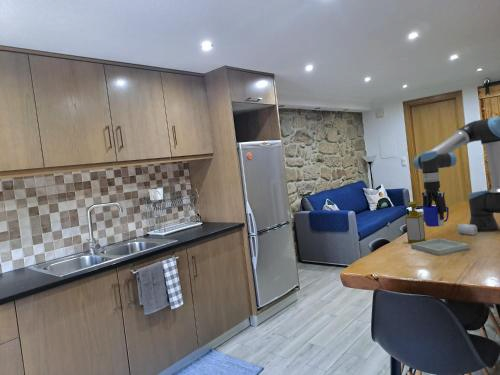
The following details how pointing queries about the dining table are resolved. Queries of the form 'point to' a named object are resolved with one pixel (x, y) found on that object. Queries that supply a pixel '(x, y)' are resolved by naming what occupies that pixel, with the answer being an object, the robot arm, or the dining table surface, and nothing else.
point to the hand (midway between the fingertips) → (436, 225)
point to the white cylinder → (467, 229)
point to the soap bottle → (415, 225)
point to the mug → (432, 215)
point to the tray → (439, 246)
